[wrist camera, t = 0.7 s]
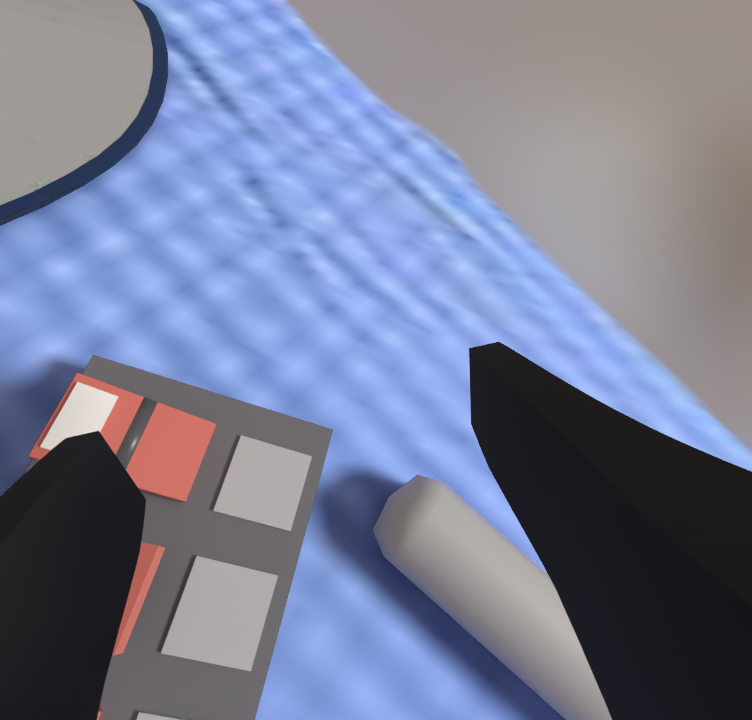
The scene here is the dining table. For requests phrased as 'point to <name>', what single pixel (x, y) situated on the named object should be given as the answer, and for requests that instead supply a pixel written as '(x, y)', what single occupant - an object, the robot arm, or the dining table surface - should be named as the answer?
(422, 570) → the tube
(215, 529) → the switch panel
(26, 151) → the sun hat
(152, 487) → the rocker
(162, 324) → the dining table surface
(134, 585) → the rocker
